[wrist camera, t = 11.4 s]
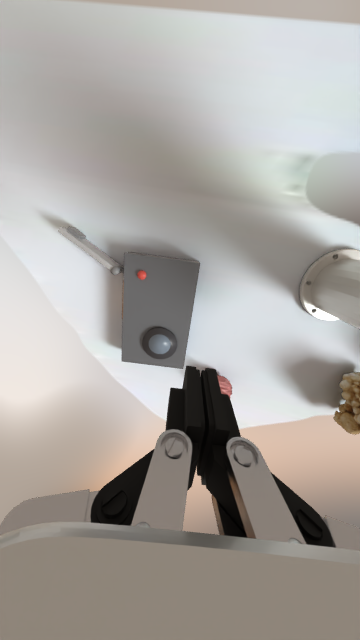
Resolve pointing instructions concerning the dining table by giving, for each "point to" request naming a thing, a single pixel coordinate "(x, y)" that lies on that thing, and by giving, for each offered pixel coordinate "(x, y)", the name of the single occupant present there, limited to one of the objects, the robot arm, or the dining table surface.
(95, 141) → the dining table surface
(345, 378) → the mineral formation
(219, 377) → the flower
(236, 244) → the dining table surface
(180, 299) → the camera body
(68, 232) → the port door
